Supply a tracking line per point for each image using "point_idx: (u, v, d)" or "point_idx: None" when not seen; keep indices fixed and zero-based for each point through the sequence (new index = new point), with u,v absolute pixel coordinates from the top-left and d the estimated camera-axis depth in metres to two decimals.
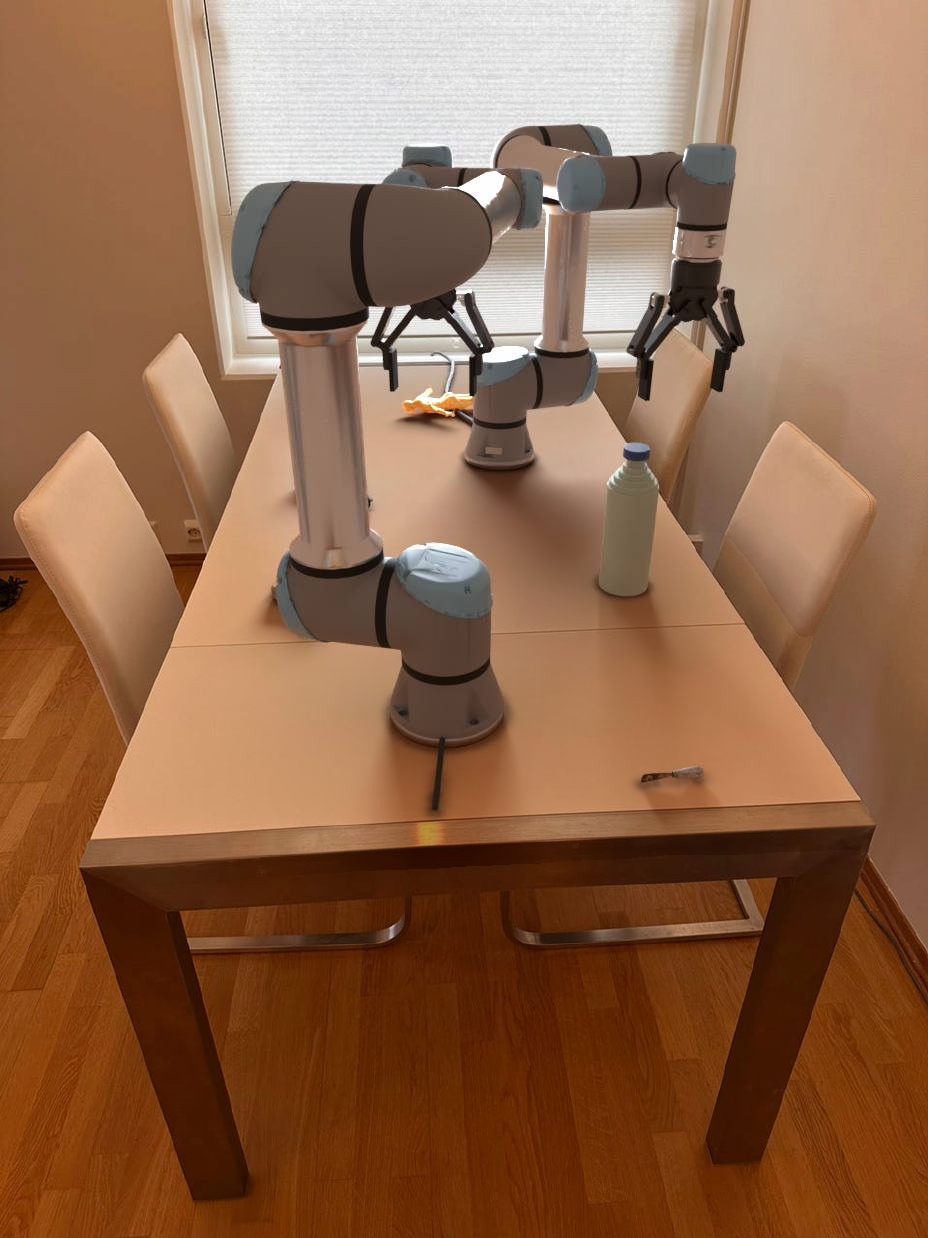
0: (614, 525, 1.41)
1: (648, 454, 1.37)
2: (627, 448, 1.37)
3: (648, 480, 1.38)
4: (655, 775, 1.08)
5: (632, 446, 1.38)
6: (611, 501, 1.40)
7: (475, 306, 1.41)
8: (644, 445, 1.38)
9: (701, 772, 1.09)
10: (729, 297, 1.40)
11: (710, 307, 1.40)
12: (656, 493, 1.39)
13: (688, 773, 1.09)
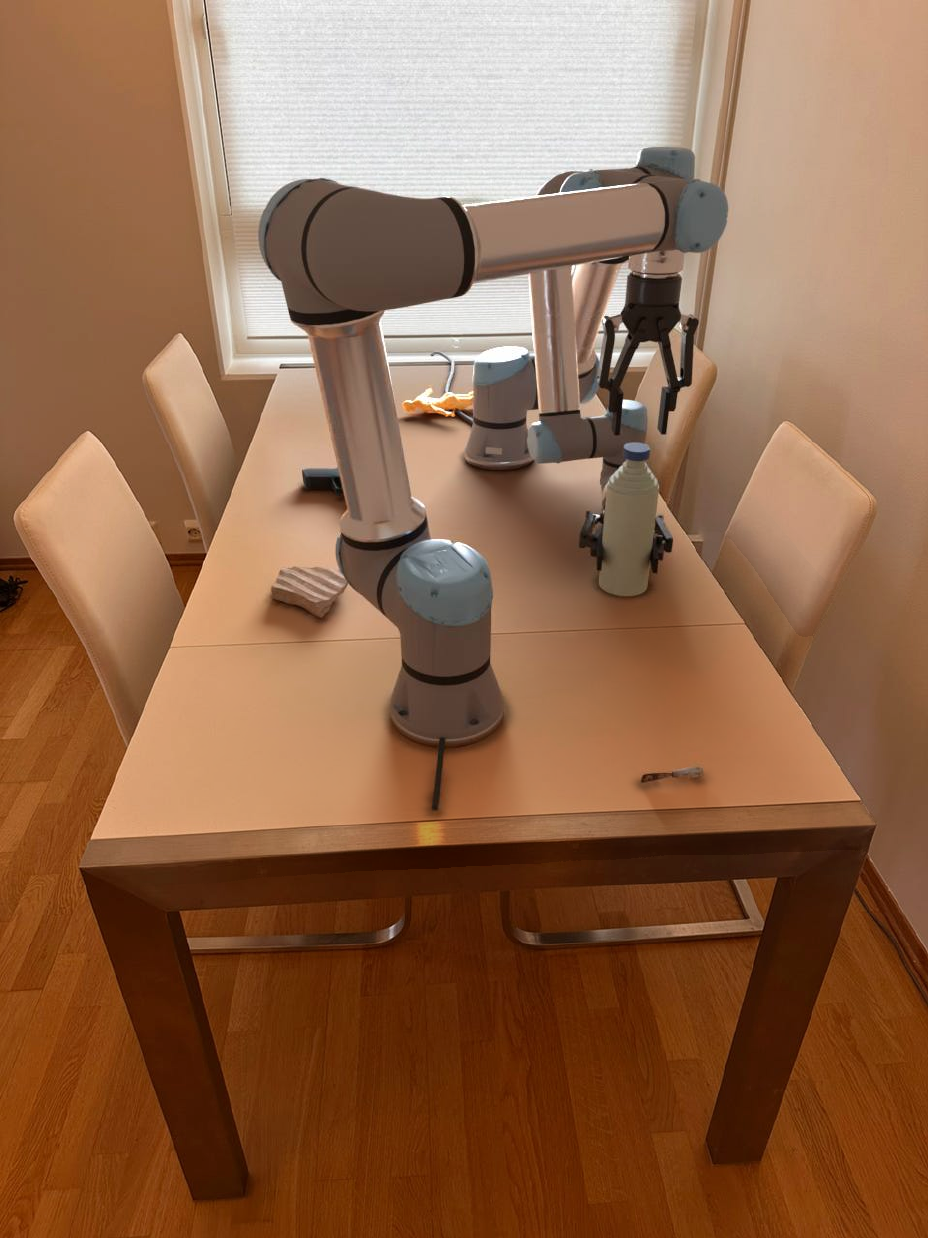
0: (614, 525, 1.41)
1: (648, 454, 1.37)
2: (627, 448, 1.37)
3: (648, 480, 1.38)
4: (655, 775, 1.08)
5: (632, 446, 1.38)
6: (611, 501, 1.40)
7: (605, 336, 1.28)
8: (644, 445, 1.38)
9: (701, 772, 1.09)
10: None
11: None
12: (656, 493, 1.39)
13: (688, 773, 1.09)
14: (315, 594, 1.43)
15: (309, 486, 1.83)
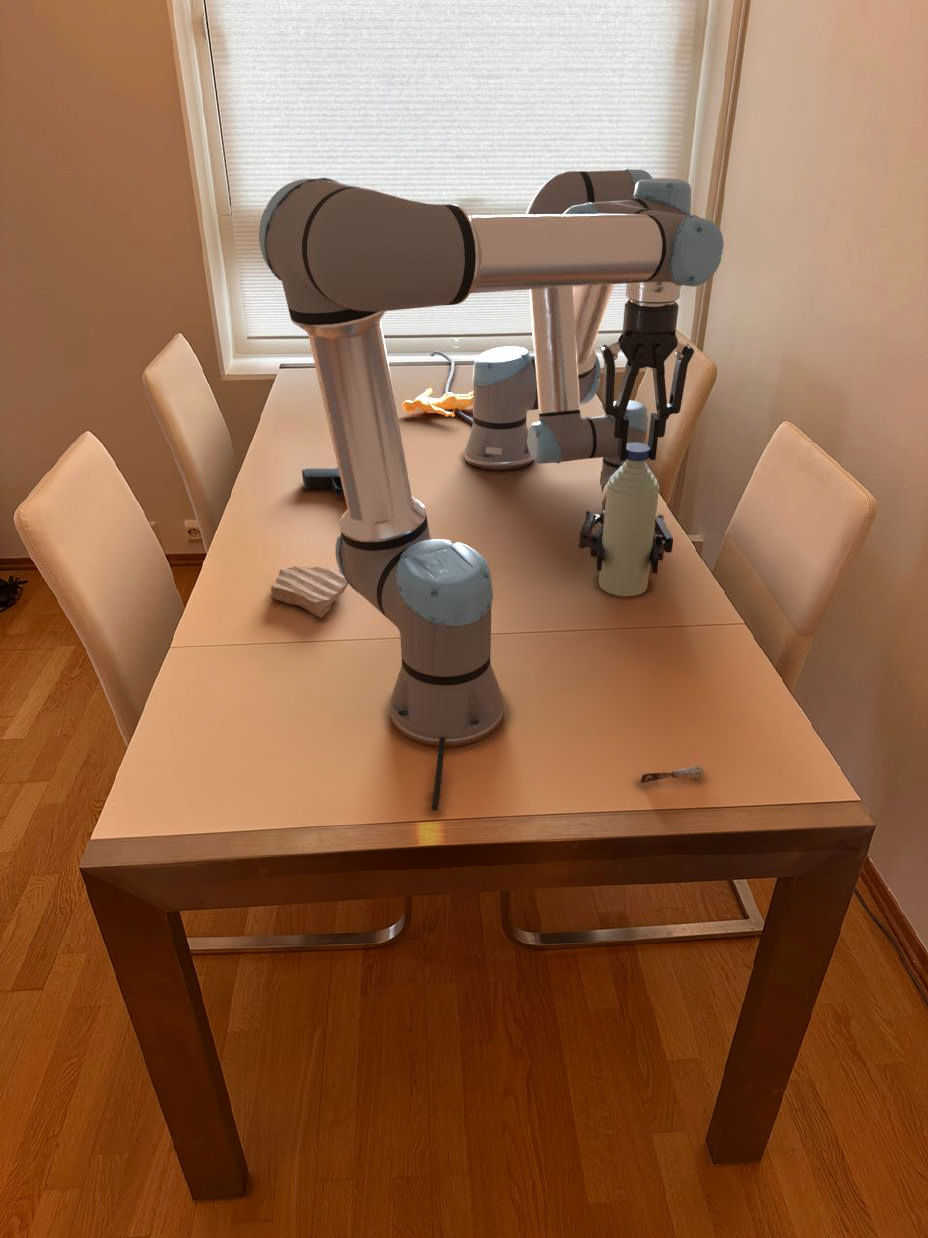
0: (614, 525, 1.41)
1: (648, 454, 1.37)
2: (627, 448, 1.37)
3: (648, 480, 1.38)
4: (655, 775, 1.08)
5: (632, 446, 1.38)
6: (611, 501, 1.40)
7: (605, 365, 1.30)
8: (644, 445, 1.38)
9: (701, 772, 1.09)
10: None
11: None
12: (656, 493, 1.39)
13: (688, 773, 1.09)
14: (315, 594, 1.43)
15: (309, 486, 1.83)
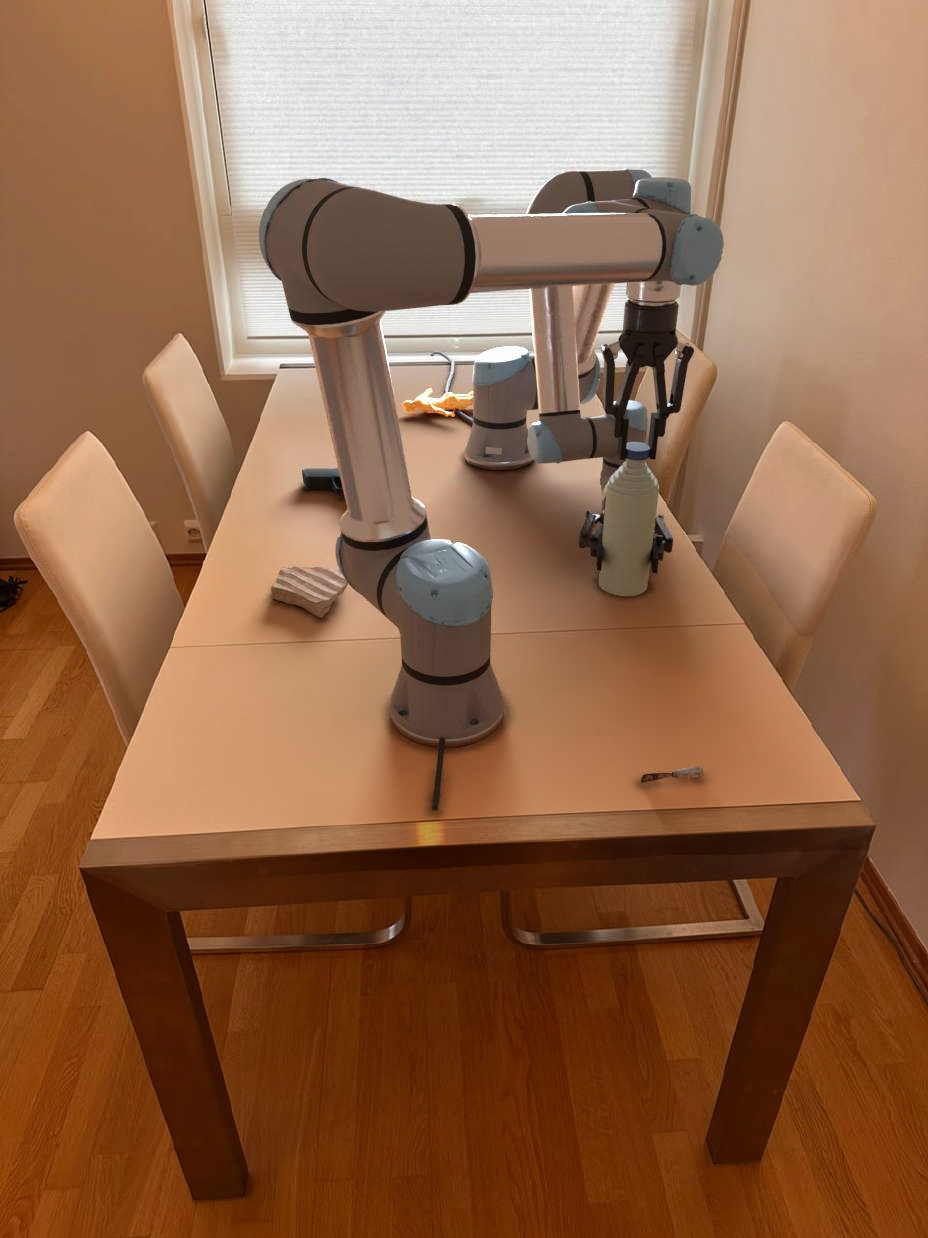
0: (614, 525, 1.41)
1: None
2: (642, 450, 1.36)
3: (648, 480, 1.38)
4: (655, 775, 1.08)
5: (636, 448, 1.37)
6: (611, 501, 1.40)
7: (605, 364, 1.30)
8: (630, 443, 1.39)
9: (701, 772, 1.09)
10: None
11: None
12: (656, 493, 1.39)
13: (688, 773, 1.09)
14: (315, 594, 1.43)
15: (309, 486, 1.83)
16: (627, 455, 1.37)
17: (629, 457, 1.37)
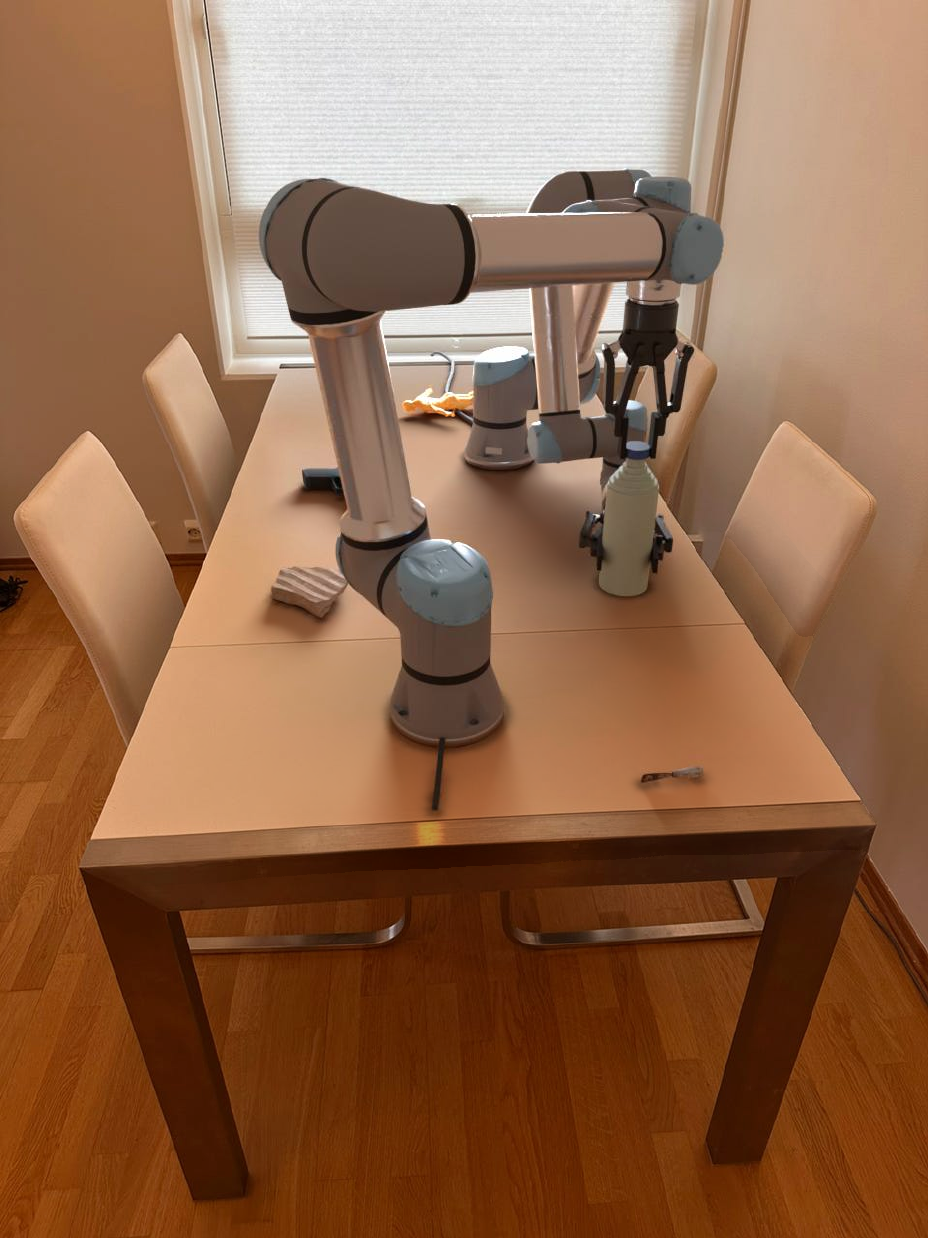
0: (614, 525, 1.41)
1: None
2: (645, 444, 1.38)
3: (648, 480, 1.38)
4: (655, 775, 1.08)
5: (641, 446, 1.37)
6: (611, 501, 1.40)
7: (605, 363, 1.30)
8: (630, 448, 1.37)
9: (701, 772, 1.09)
10: None
11: None
12: (656, 493, 1.39)
13: (688, 773, 1.09)
14: (315, 594, 1.43)
15: (309, 486, 1.83)
16: (647, 455, 1.37)
17: (648, 455, 1.37)
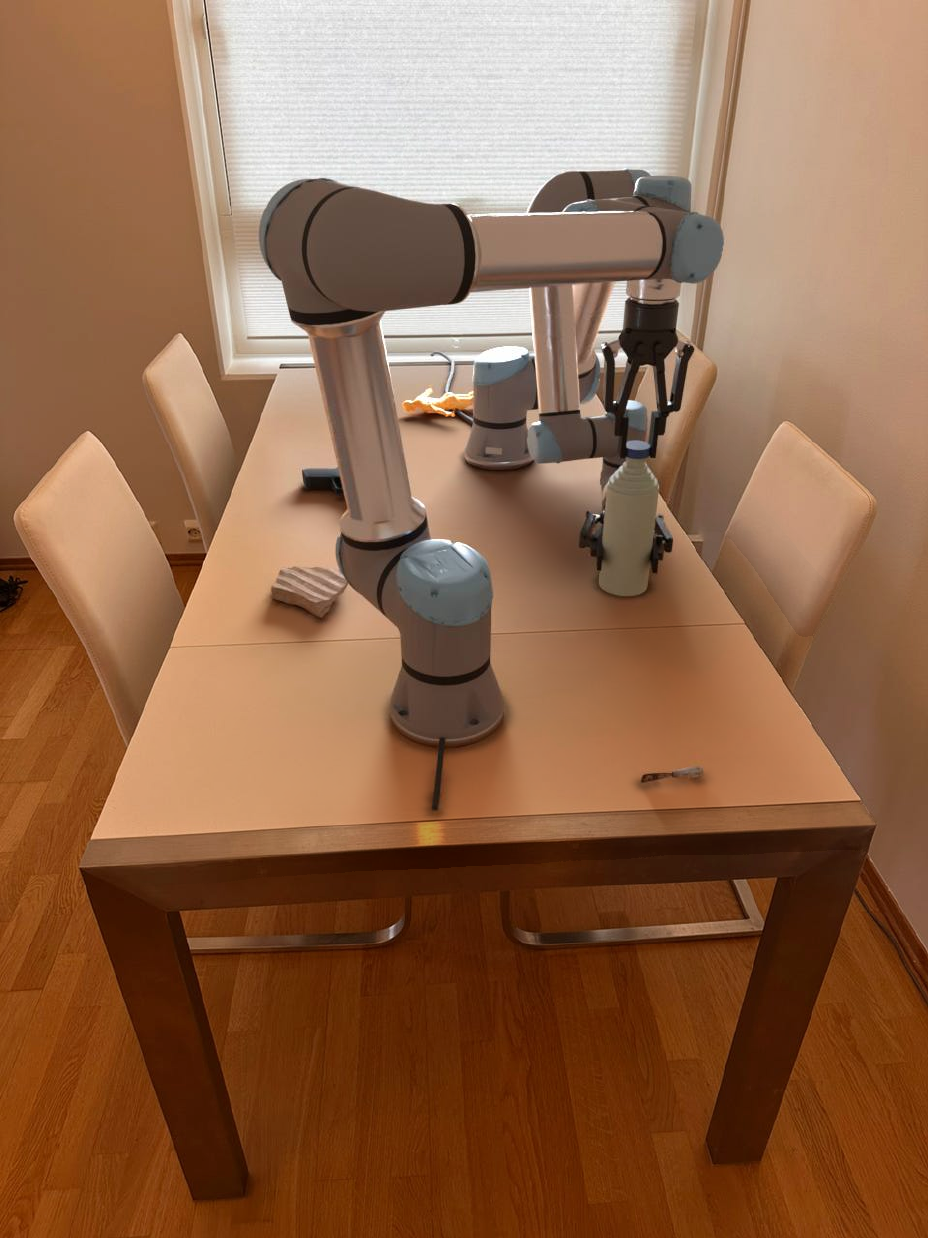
0: (614, 525, 1.41)
1: (634, 454, 1.36)
2: (630, 442, 1.39)
3: (648, 480, 1.38)
4: (655, 775, 1.08)
5: (637, 443, 1.38)
6: (611, 501, 1.40)
7: (605, 362, 1.30)
8: (645, 447, 1.36)
9: (701, 772, 1.09)
10: None
11: None
12: (656, 493, 1.39)
13: (688, 773, 1.09)
14: (315, 594, 1.43)
15: (309, 486, 1.83)
16: None
17: None
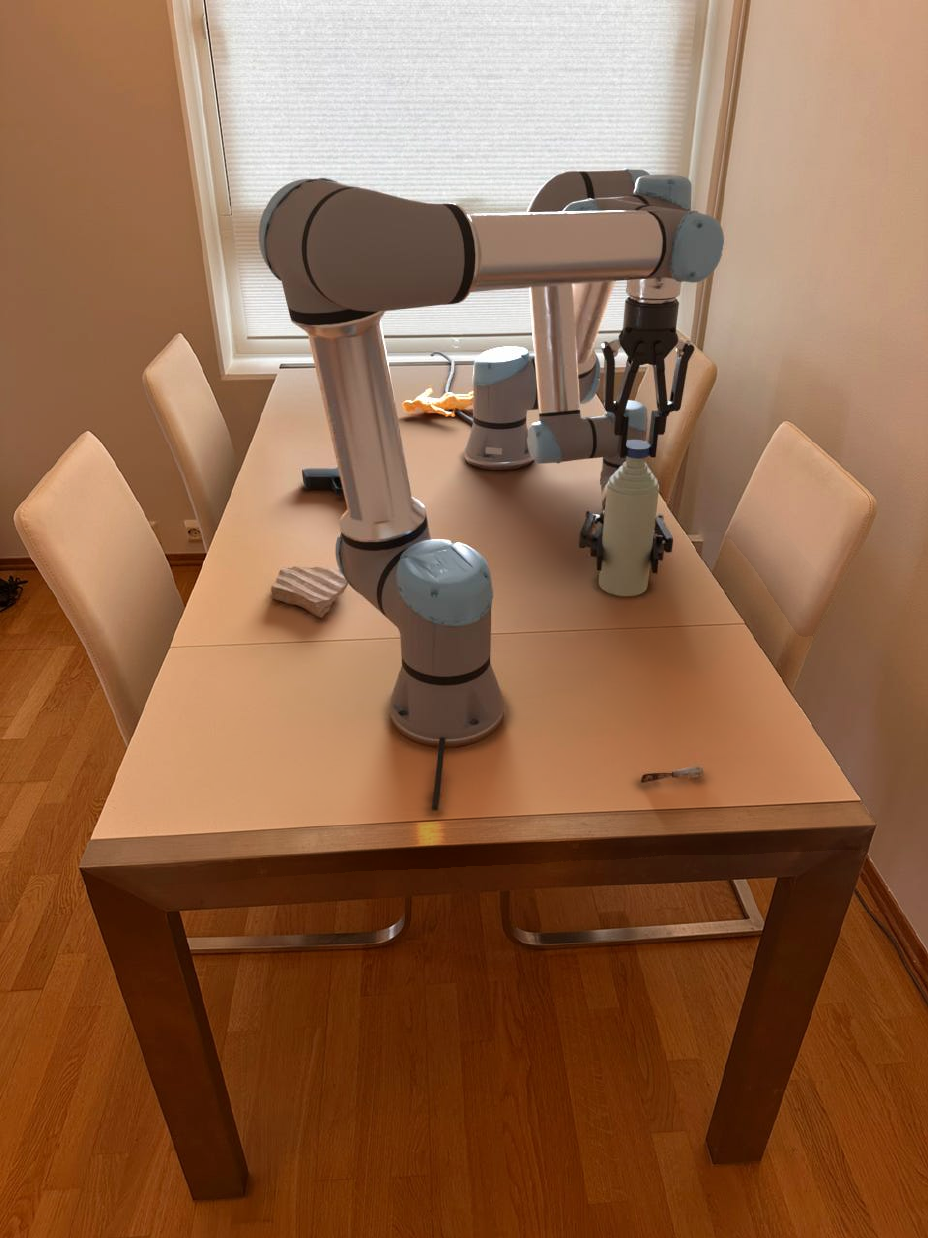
0: (614, 525, 1.41)
1: None
2: (630, 446, 1.36)
3: (648, 480, 1.38)
4: (655, 775, 1.08)
5: (632, 444, 1.37)
6: (611, 501, 1.40)
7: (605, 361, 1.30)
8: (642, 441, 1.38)
9: (701, 772, 1.09)
10: None
11: None
12: (656, 493, 1.39)
13: (688, 773, 1.09)
14: (315, 594, 1.43)
15: (309, 486, 1.83)
16: None
17: None
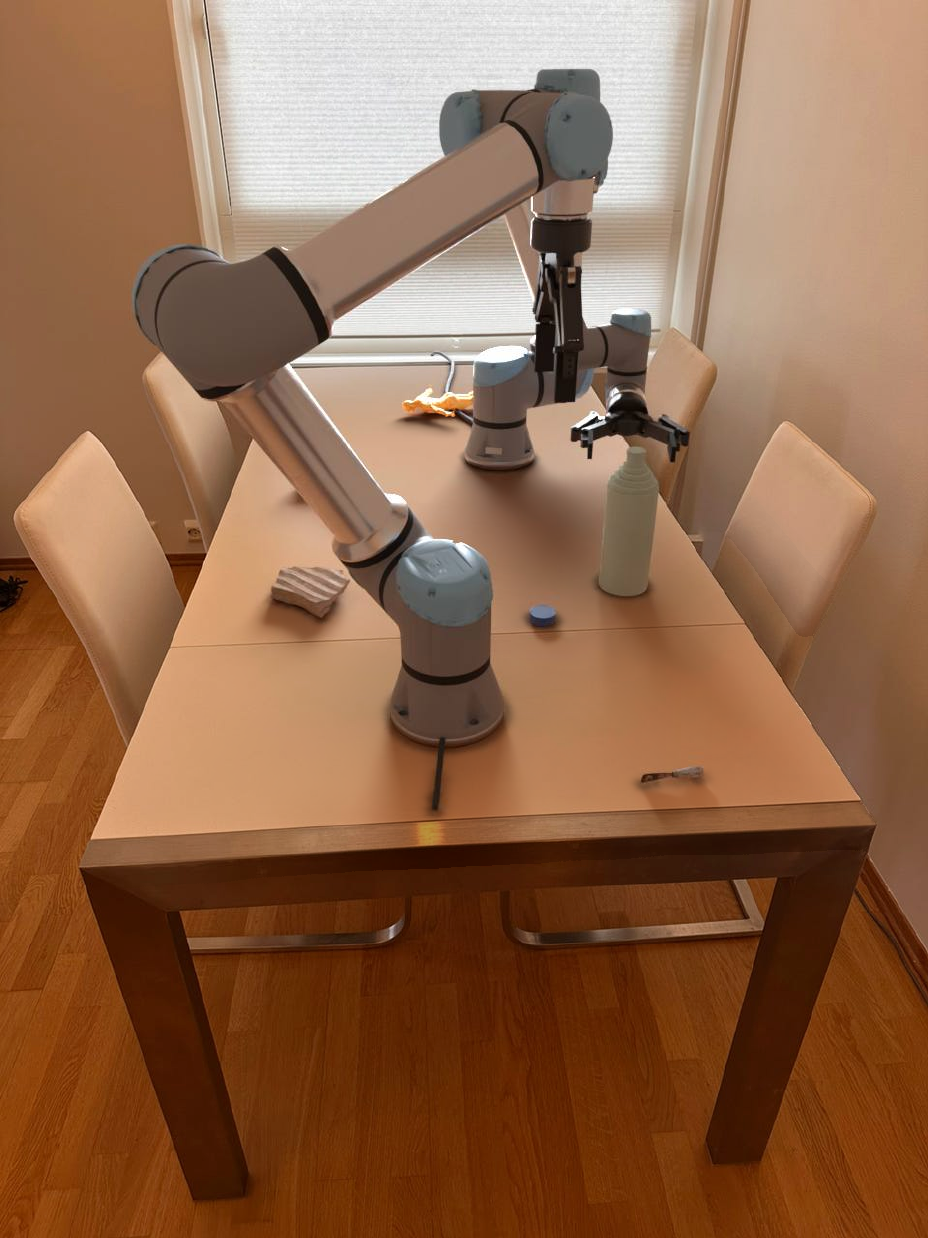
0: (614, 525, 1.41)
1: None
2: (550, 615, 1.39)
3: (648, 480, 1.38)
4: (655, 775, 1.08)
5: (543, 613, 1.40)
6: (611, 501, 1.40)
7: (573, 288, 1.08)
8: (534, 608, 1.41)
9: (701, 772, 1.09)
10: None
11: None
12: (656, 493, 1.39)
13: (688, 773, 1.09)
14: (315, 594, 1.43)
15: None
16: (536, 622, 1.39)
17: (539, 624, 1.39)
